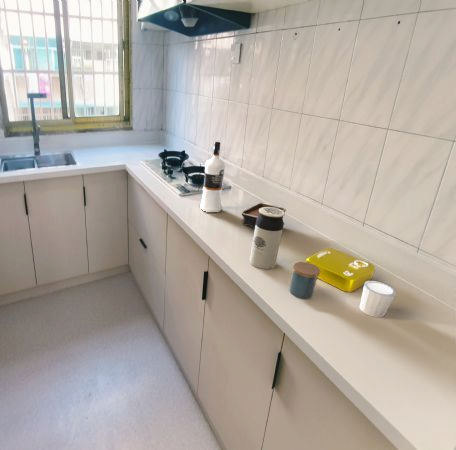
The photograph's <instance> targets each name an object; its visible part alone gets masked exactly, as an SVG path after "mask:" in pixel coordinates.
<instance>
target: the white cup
mask: <svg viewBox="0 0 456 450" xmlns="http://www.w3.org/2000/svg"><path fill="white" fill-rule="evenodd" d="M396 293H397V292H396V290H395V289H394V288H393V287H392V286H390V285H389V284H386V283H383V282H382V281H381V282H380V281H376V280H369V281H367V282H365V284H363V288H362V293H361V299H360V303H359V310H361V312H363V313H364V314H366V315H367V316H370V317H372V318H383V317H384V316H385V315H386V313H387V311H388V309H389V307H390V306H391V304H392V302H393V300H394V298H395V297H396Z"/></svg>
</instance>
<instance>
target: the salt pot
mask: <svg viewBox="0 0 456 450" xmlns="http://www.w3.org/2000/svg"><path fill="white" fill-rule="evenodd" d="M319 274H320V269H319V268H318V267H317V266H315V265H313V264H311V263H307V262H306V261H297V262H295V263H294V264H293V273H292V277H291V281H290V287H289V293H290V294H291V295H292V296H293V297H295V298H298V299H301V300H309V299H312V298H313V296H314V291H315V288H316V284H317V280H318V278H317V277H318V276H319Z"/></svg>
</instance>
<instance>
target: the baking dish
mask: <svg viewBox="0 0 456 450" xmlns="http://www.w3.org/2000/svg"><path fill="white" fill-rule="evenodd" d="M262 207H273V208H278V209H280V210H282V211H284V212H285V213H286V211H287V208H286V207H282V206H278V205H274V204H270V203H265V202H258V203H256V204H254V205H253V206H251V207H249V208H247V209H244V210H243V211H241V212H240V215H241V216H242V218H243V222H242V225H243V226H251V227H252V228H254V229H255V226H256V220H257V218H258V217H259V215H260V212H259V209H260V208H262ZM282 219H283V220H284V217H283V218H282Z"/></svg>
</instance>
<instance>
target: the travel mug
mask: <svg viewBox="0 0 456 450" xmlns="http://www.w3.org/2000/svg"><path fill="white" fill-rule="evenodd" d="M259 212H260V215H259V217H258V218H257V220H256V226H255V228H254V232H253V236H252V237H253V238H252V243H251V248H250V249H251V250H250V255H249V263H250V264H251V265H252V266H254V267H256V268H258V269H263V270H270V269H273V268H275V267H276V264H277V260H278V254H279V248H280V245H281V239H282V234H283V230H284V225H285V222H284V216H285V214H286V211H285V212H284V211H282V210H280V209H278V208H273V207H262V208H260V209H259ZM282 218H283V219H282Z"/></svg>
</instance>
